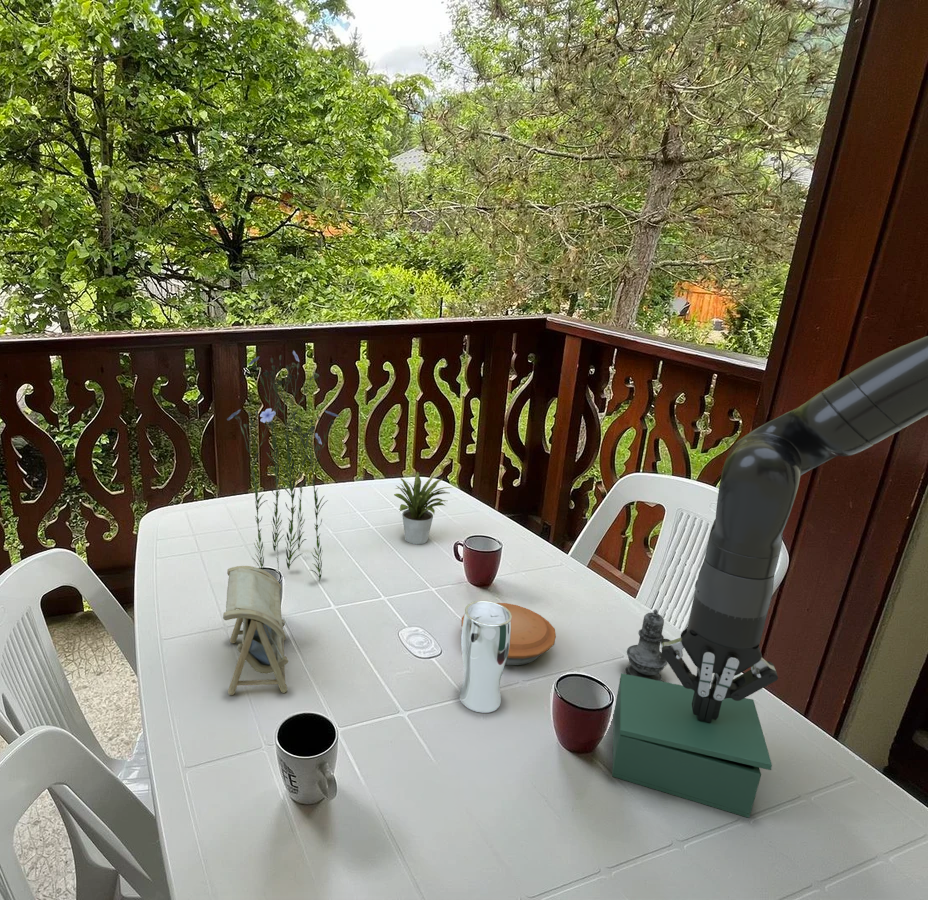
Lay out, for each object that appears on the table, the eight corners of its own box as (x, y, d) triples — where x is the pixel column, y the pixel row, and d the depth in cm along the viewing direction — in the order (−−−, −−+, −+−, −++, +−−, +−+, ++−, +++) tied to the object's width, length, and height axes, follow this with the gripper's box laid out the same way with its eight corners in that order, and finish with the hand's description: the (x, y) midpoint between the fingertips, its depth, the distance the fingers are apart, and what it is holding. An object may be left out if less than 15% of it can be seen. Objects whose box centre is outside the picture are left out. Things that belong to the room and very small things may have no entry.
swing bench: (289, 694, 97) (287, 609, 92) (225, 698, 96) (221, 612, 91) (285, 637, 111) (284, 561, 106) (230, 640, 110) (226, 563, 105)
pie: (466, 613, 118) (468, 589, 117) (553, 629, 113) (557, 605, 112) (453, 662, 104) (455, 636, 103) (552, 683, 100) (556, 656, 98)
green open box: (734, 748, 87) (744, 708, 85) (749, 818, 76) (761, 774, 74) (613, 715, 93) (620, 678, 91) (612, 776, 82) (619, 735, 80)
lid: (752, 704, 84) (753, 699, 84) (771, 770, 74) (772, 764, 73) (620, 677, 91) (620, 672, 90) (619, 734, 80) (620, 729, 80)
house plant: (422, 562, 137) (426, 492, 132) (372, 542, 146) (374, 475, 141) (457, 540, 147) (462, 474, 142) (409, 523, 156) (412, 460, 151)
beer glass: (447, 698, 96) (453, 611, 92) (474, 678, 101) (482, 594, 96) (485, 722, 91) (495, 632, 87) (512, 700, 96) (522, 613, 91)
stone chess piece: (615, 667, 103) (626, 603, 100) (642, 660, 105) (654, 596, 102) (644, 690, 98) (657, 623, 94) (672, 681, 100) (686, 615, 96)
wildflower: (327, 601, 122) (329, 369, 108) (216, 586, 127) (204, 362, 113) (351, 549, 143) (355, 349, 129) (254, 538, 148) (248, 344, 134)
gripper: (670, 601, 75) (646, 721, 80) (805, 628, 70) (770, 754, 75) (667, 573, 82) (645, 685, 87) (789, 595, 77) (758, 713, 82)
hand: (703, 717), depth 81 cm, fingers closed
